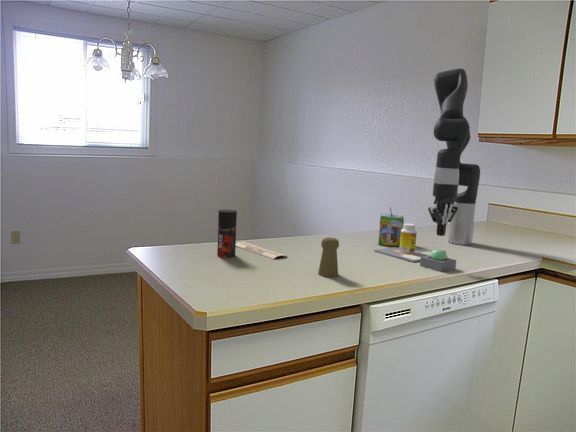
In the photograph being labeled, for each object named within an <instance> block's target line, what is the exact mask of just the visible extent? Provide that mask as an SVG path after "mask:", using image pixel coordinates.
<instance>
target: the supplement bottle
mask: <svg viewBox="0 0 576 432" xmlns="http://www.w3.org/2000/svg"><path fill="white" fill-rule="evenodd" d="M415 228H416V224H415V223H404V224H403V229H402V230H401V237H400V246H399V247H400V248H399V250H400V251H401V252H403V253H414V252H415V247H416V243H417V242H416V241H417V234H418V233H417V232H418V231H417V230H416V229H415Z"/></svg>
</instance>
